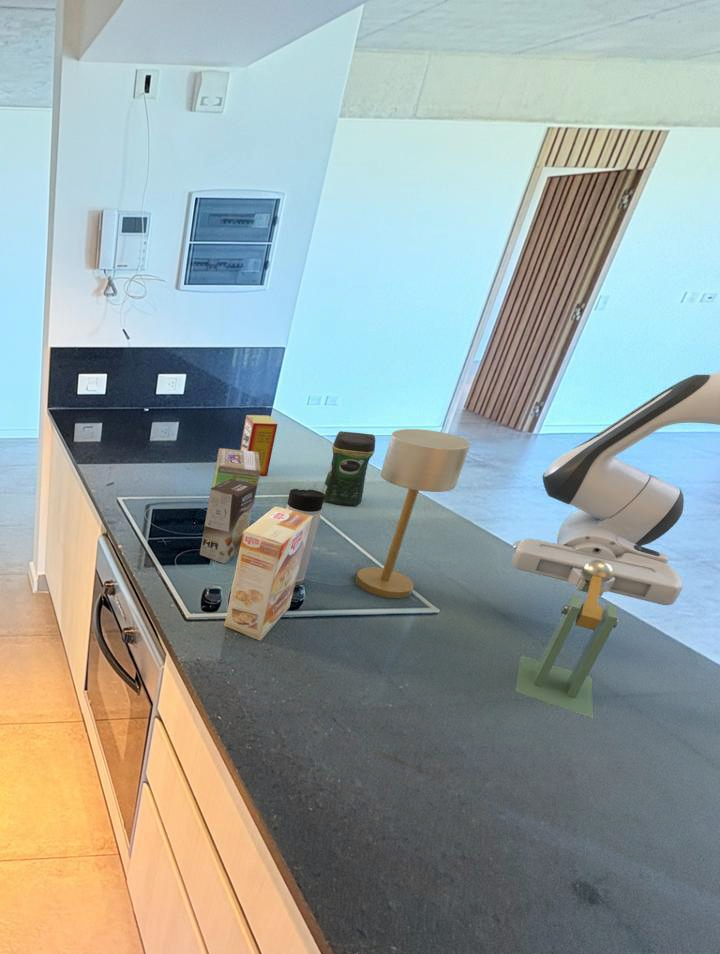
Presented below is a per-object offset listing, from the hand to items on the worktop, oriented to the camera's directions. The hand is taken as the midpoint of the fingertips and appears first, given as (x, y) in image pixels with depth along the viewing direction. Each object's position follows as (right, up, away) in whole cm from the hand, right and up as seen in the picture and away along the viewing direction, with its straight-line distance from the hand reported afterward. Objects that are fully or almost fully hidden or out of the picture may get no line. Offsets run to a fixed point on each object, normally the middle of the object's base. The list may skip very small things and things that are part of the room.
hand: (591, 589), depth 96 cm
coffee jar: (-1, +18, +69) cm, 72 cm away
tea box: (-33, +15, +63) cm, 72 cm away
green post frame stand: (-6, -16, +1) cm, 17 cm away
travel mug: (-33, -1, +32) cm, 46 cm away
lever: (-2, -2, -2) cm, 3 cm away
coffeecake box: (-44, -7, +20) cm, 48 cm away
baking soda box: (-16, +29, +90) cm, 96 cm away
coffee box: (-42, +5, +43) cm, 60 cm away
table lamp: (-14, -2, +30) cm, 33 cm away
